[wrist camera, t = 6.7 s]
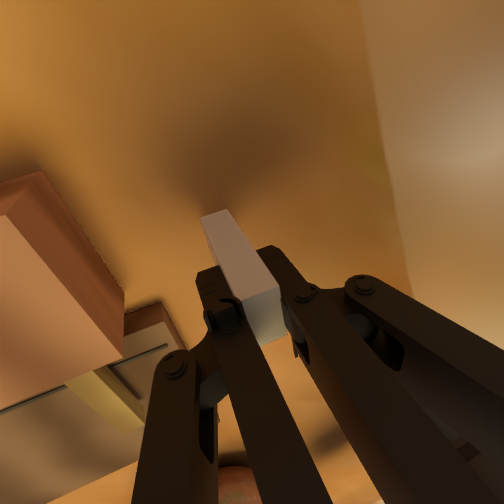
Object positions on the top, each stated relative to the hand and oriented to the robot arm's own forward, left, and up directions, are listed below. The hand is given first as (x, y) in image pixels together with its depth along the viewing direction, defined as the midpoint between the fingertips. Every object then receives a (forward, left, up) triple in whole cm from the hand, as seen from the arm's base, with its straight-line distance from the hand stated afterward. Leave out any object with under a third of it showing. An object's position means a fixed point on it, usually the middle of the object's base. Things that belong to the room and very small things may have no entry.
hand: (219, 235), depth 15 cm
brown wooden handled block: (+9, +3, -2) cm, 10 cm away
